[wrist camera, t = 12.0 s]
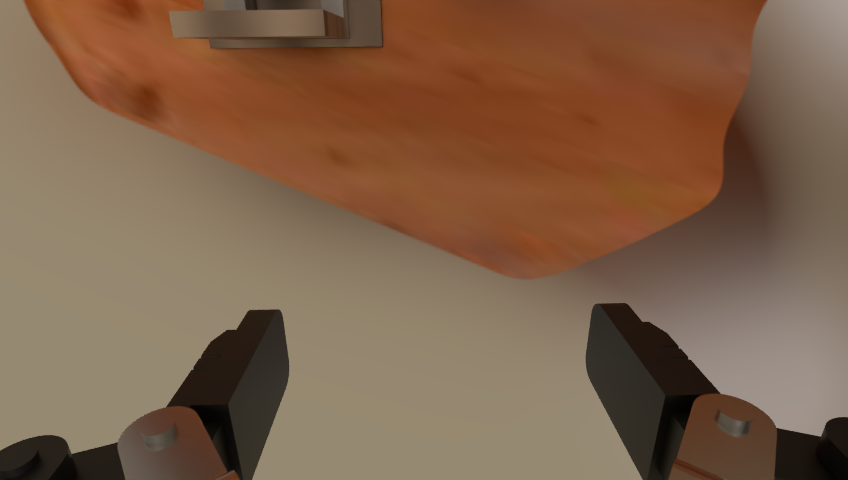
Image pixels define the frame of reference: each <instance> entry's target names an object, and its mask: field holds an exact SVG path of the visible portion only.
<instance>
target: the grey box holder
mask: <svg viewBox="0 0 848 480" xmlns="http://www.w3.org/2000/svg"><path fill="white" fill-rule="evenodd" d="M203 5H204V11H169V16H170V22H171V27H172V32H173V37H174V38H198V39H209V42H210V48H282V47H366V46H383V37H382V12H381V0H203Z"/></svg>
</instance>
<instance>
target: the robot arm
mask: <svg viewBox="0 0 848 480" xmlns="http://www.w3.org/2000/svg"><path fill="white" fill-rule="evenodd" d="M586 368H587V373H588V376H589V379H590V381H591V383H592V385H593V387H594V389H595V391H596V392H597V394H598V396H599V398H600V400H601V402H602V404H603V406H604V408H605V409H606V411H607V413H608V415H609V417H610V419H611V421H612V423H613V424H614V426H615V428H616V430H617V432H618V434H619V436H620V438H621V439H622V441H623V443H624V445H625V447H626V449H627V451H628V453H629V455H630V456H631V458H632V460H633V462H634V464H635V466H636V468H637V470H638V471H639V473H640V475H641V477H642V479H643V480H848V417H838V418H834V419H831V420H829V421H828V422H827V423H826V425H825V428H824V431H823V433H822V436H821V437H819V436H814V435H809V434H804V433H799V432H794V431H789V430H783V429H779V428H776V426H775V424H774V422H773V421H772V420H771V418H770V417H769V416H768V415H766V413H764V412H763V411H762V410H760V409H759V408H757V407H756V406H754V405H753V404H751V403H749V402H747V401H744V400H742V399H739V398H736V397H733V396H729V395H724V394H720V392H719V391H718V390H717V389H716V388H715V387H714V386H713V385H712V383H711V382H710V381H709V380H708V379H707V378H706V377H705V376H704V375H703V373H702V372H701V371H700V370H699V369H698V368H697V366H696V365H695V364H694V363H693V362H692V361H691V360H688V356H687V355H686V354H685V353H684V352H683V351H682V350H681V349H679V348H678V345H677V344H676V343H675V342H674V341H673V339H672V338H671V337H670V336H669V335H668V334H667V333H666V332H664V331H663V330H661V329H660V328H658V327H656V326H655V325H653V324H651V323H650V322H642V321H641V320H640V319H639V317H638V316H637V315H636V314H635V313H634V311H633V310H632V309H631V308H630V306H629V305H628V304H626V303H611V304H610V303H609V304H595V305H594V307H593V309H592V314H591V321H590V328H589V336H588V343H587V350H586ZM288 377H289V358H288V351H287V344H286V337H285V329H284V322H283V316H282V313H281V311H280V310H249V311H248V312H247V314H246V315H245V317H244V319H243V320H242V322H241V323H240V325H239V326H238V328H237V330H226V331H225V332H224V333H222V334H221V335H220V336H218V337H217V338H216V339H214V340H213V341H211V342H210V344H209V345H208V347H207V348H206V350H205V351H204V353H203V354H202V356H201V358H200V359H199V360H198V361H197V363H196V364H195V366H194V369H193V370H191V372H190V373H189V375H188V376H187V377H186V379H185V381H184V382H183V383H182V385H181V386H180V388H179V389H178V391H177V392H176V394H175V395H174V396H173V398H172V399H171V401H170V402H169V404H168V405H167V407H166V408H162V409H158V410H155V411H152V412H150V413H148V414H146V415H144V416H142V417H140V418H139V419H137V420H136V421H134V422H133V423H132V424H131V425H129V426H128V427H127V428H126V429H125V431H124V432H123V433H122V435H121V436H120V438H119V440H118V442H117V443H114V444H110V445H106V446H103V447H99V448H94V449H90V450H87V451H82V452H78V453H74V454H71V452H70V449H69V446H68V444H67V442H66V441H65V440H64V439H63V438H61V437H58V436H53V435H44V436H37V437H33V438H29V439H26V440H22V441H20V442H17V443H15V444H13V445H10V446H8V447H6V448H4V449H3V450H1V451H0V480H252V478H253V475H254V472H255V469H256V467H257V464H258V462H259V459H260V456H261V453H262V451H263V448H264V445H265V443H266V440H267V437H268V435H269V432H270V429H271V426H272V424H273V421H274V418H275V415H276V413H277V410H278V408H279V405H280V402H281V400H282V397H283V394H284V392H285V389H286V386H287V382H288Z"/></svg>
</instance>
